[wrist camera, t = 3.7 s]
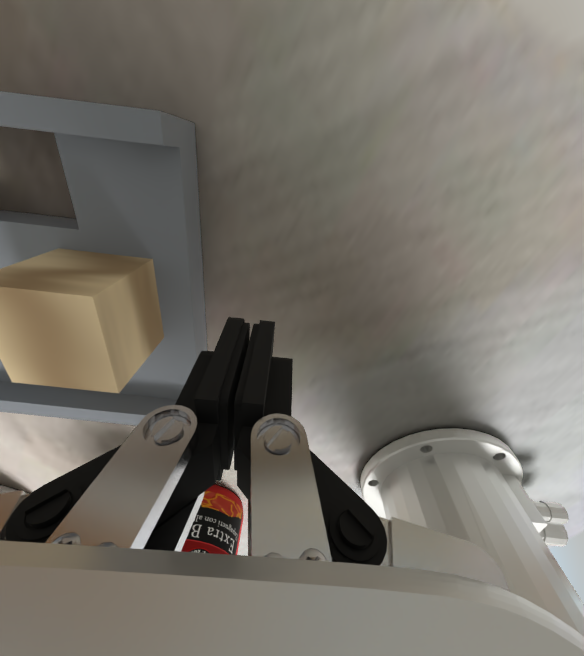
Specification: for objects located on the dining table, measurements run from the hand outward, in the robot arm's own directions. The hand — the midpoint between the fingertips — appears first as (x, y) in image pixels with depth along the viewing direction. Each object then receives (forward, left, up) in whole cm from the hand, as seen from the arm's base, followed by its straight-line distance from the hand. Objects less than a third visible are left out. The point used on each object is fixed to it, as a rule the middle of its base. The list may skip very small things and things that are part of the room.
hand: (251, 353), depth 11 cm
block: (+8, +1, -5) cm, 9 cm away
